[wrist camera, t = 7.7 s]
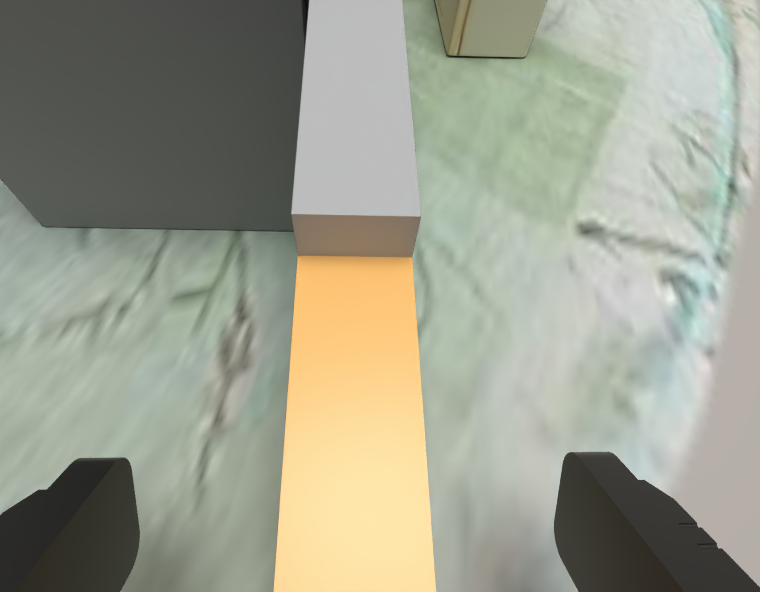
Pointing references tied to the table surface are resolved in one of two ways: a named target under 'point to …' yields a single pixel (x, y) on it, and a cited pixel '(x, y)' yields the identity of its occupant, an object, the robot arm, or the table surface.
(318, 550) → the door
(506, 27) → the skincare box
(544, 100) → the table surface
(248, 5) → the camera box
